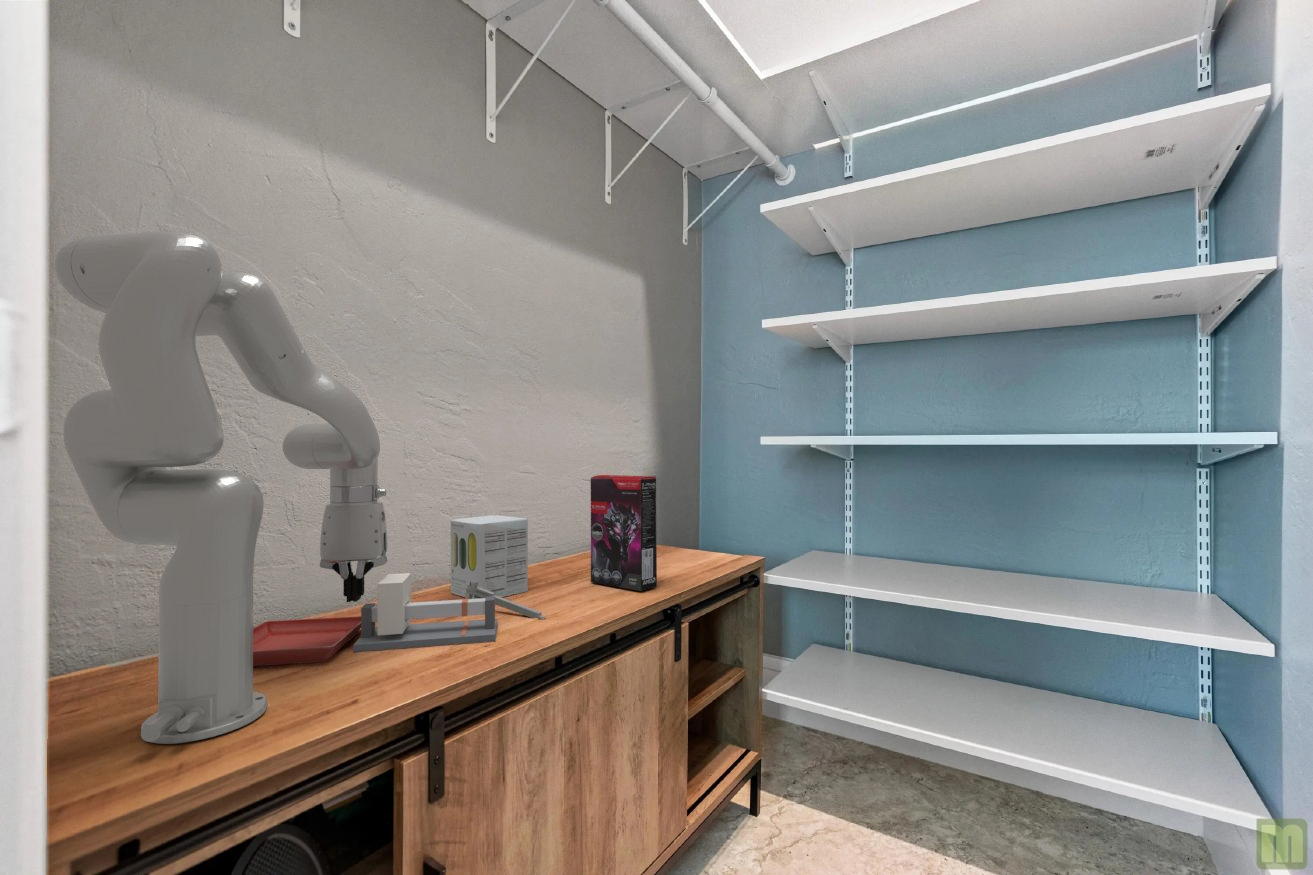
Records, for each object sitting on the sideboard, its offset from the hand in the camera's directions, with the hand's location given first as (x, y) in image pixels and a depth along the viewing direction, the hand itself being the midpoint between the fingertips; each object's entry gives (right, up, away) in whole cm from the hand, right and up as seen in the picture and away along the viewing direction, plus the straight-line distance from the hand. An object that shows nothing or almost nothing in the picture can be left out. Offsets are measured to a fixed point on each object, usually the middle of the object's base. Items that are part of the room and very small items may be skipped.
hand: (354, 599), depth 104 cm
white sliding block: (+7, -5, +1) cm, 9 cm away
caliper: (+22, -8, +18) cm, 30 cm away
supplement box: (+14, -8, +36) cm, 39 cm away
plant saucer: (-8, -8, -3) cm, 12 cm away
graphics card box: (+45, -8, +42) cm, 62 cm away
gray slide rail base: (+12, -8, +3) cm, 15 cm away
